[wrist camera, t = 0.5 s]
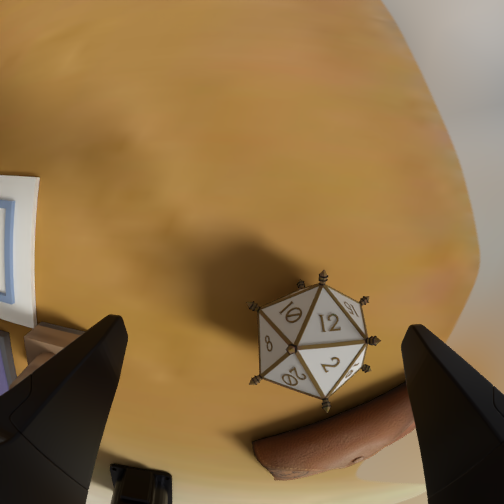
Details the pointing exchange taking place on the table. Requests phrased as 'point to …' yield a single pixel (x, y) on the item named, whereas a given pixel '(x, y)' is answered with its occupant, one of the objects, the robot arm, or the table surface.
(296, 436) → the sunglasses case
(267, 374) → the game die
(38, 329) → the stamp
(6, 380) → the ink pad
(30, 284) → the print card
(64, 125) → the table surface
